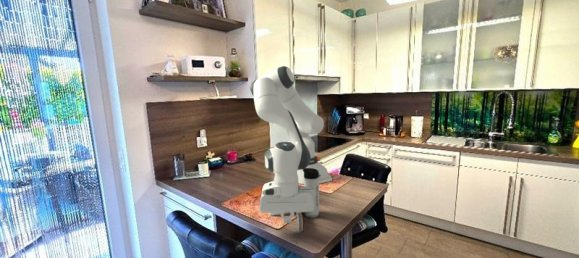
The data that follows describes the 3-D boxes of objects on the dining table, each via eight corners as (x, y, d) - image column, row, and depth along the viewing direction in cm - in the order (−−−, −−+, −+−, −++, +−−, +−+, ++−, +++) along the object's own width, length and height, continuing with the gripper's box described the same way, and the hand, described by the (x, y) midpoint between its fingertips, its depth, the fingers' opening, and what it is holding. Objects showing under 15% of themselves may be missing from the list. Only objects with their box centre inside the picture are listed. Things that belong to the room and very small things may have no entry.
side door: (295, 211, 107) (295, 198, 106) (298, 211, 107) (298, 198, 106) (299, 231, 91) (298, 216, 90) (302, 231, 91) (302, 216, 90)
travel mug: (302, 211, 108) (301, 167, 105) (317, 210, 108) (317, 166, 105) (304, 218, 102) (303, 171, 98) (320, 217, 102) (320, 170, 99)
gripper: (314, 183, 93) (314, 217, 95) (260, 184, 93) (261, 218, 96) (315, 189, 87) (316, 226, 89) (257, 191, 87) (259, 227, 89)
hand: (287, 222), depth 92 cm, fingers closed
